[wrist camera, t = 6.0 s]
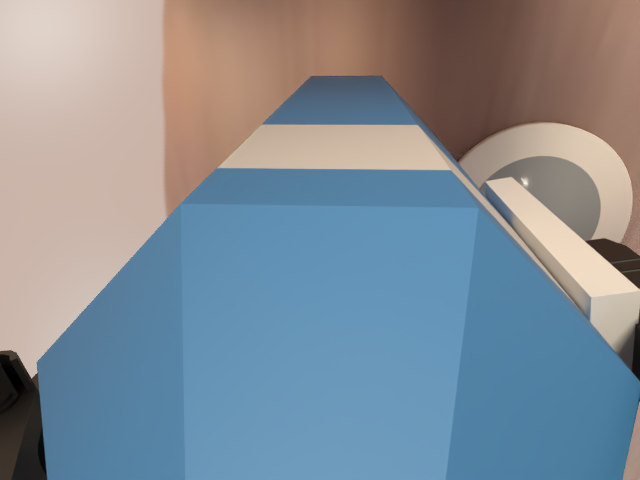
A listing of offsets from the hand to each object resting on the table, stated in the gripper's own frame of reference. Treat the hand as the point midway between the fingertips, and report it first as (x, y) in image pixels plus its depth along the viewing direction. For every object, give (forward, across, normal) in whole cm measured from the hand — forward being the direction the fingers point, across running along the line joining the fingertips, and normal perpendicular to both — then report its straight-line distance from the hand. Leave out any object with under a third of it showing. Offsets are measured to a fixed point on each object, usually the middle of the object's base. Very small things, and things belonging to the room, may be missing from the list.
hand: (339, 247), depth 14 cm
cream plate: (+25, +14, -11) cm, 31 cm away
